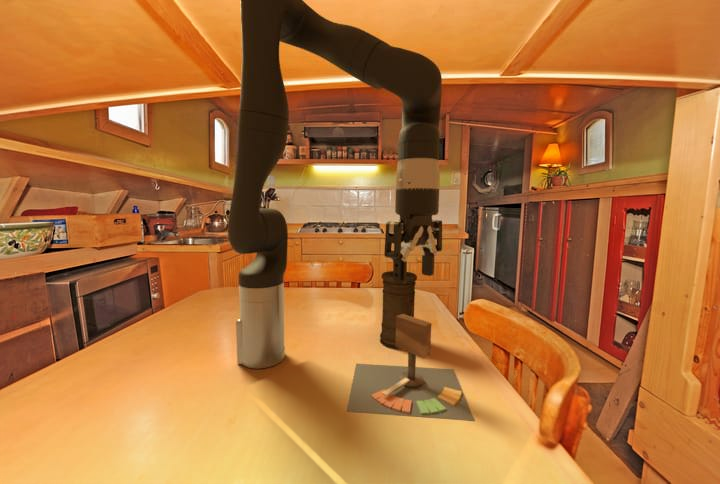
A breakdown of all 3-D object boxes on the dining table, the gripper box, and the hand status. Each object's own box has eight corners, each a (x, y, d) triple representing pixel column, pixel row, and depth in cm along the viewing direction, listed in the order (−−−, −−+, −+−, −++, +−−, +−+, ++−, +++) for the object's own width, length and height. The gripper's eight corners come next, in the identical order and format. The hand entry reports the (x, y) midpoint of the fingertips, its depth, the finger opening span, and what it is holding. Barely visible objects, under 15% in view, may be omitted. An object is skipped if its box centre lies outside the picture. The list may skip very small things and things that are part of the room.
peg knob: (404, 369, 61) (406, 312, 59) (432, 382, 56) (435, 321, 55) (370, 390, 54) (371, 325, 52) (399, 407, 49) (401, 337, 48)
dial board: (346, 418, 49) (346, 409, 48) (356, 368, 63) (356, 362, 63) (474, 427, 47) (474, 418, 47) (453, 374, 62) (453, 367, 62)
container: (386, 356, 69) (388, 279, 67) (374, 339, 78) (375, 271, 76) (422, 351, 71) (425, 277, 69) (406, 336, 80) (408, 269, 78)
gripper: (410, 184, 45) (407, 289, 47) (456, 189, 55) (453, 276, 57) (373, 186, 50) (372, 281, 52) (422, 190, 60) (419, 270, 62)
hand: (414, 278), depth 55 cm, fingers open, 8 cm apart
